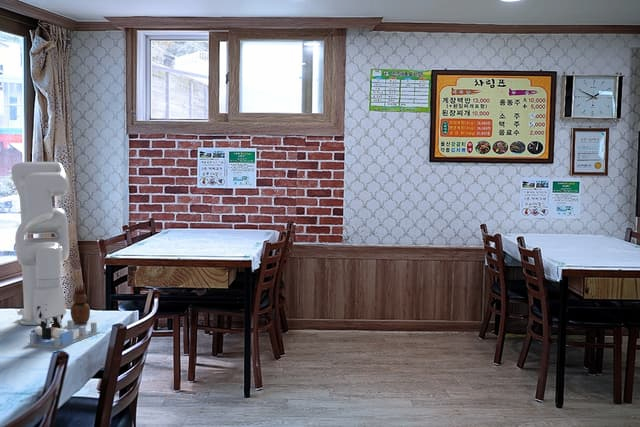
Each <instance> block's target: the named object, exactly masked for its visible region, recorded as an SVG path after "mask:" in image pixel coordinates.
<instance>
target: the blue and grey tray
mask: <svg viewBox="0 0 640 427" xmlns="http://www.w3.org/2000/svg"><path fill="white" fill-rule="evenodd" d="M35 329H36V328H34V329H31V330H30V333H29V342H28V346H34V347H35V346H36V347H45V348H52V349H62V348H65V347H68V346H70V345H72V344H75V343H78V342H80V341H83V340H85V339H87V338H91V337H92V336H95V335H98V334H99V333H100V332H99V331H98V326H97V322H96V321H92V322H90V330H86V329H87V328H86V326H83V325H81V326H79V327H78V329H74V322H73V320H72V319H68V320H67V328H66V329H67V330H68V331H66V332H63V333H61V336H58V335H56V336H54V339H53V338H51V340H45V339H42V337H41V336H36V333H35ZM60 329H63V324H62V323H61V324H60Z"/></svg>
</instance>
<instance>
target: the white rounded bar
mask: <svg viewBox="0 0 640 427" xmlns="http://www.w3.org/2000/svg"><path fill="white" fill-rule="evenodd" d="M49 328H51V338H53V339H54V336H56V335H58V336H61V333H63V332H66V331H68V330H67V328H62V329H59V328H55V327H51V326H49ZM34 329H35V333H36V336H41V337H42V328H41V327H40V325H37V326H36V327H35V328H34Z"/></svg>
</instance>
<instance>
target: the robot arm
mask: <svg viewBox="0 0 640 427" xmlns="http://www.w3.org/2000/svg"><path fill="white" fill-rule="evenodd" d="M10 170H11V171H10V172H11V179H12V182H13V185H14V187H15V189H16V191H17V194H18V197H19V206H20V220H21V221H20V224H19V225H18V227H17V229H16V233H15V253H16V259H17V262H18V264H19V265H21V273H22V275H21V276H22V278H21V279H22V290H23V291H22V292H23V294H22V295H23V308H20V309H19V311H17V313H16V314H17V315H19V316H22V317H21V318H20V320H19V324H20V325H24V326H40V327H41V328H42V339H45V340H51V328H49V327H55V328H59V329H60V324H62V320H63V318H64V316H65V315H66V314H67V310H66V301H65V300H66V299H65V292H64V287H63V285H62V281H63V278H62V267H61V265H62V263H61V262H64V261H66V260H67V259H68V258H69V257H70V238H69V223H68V222H69V221H68V217H67V216H68V215H67V213H66V211H65V210H64V209H63V208H61V207H53V199H52V198H53V197H62V196H66V195H67V194H68V192H69V183H70V182H69V179H68V176H67V173H66V171H65V168H64V166H63V164H62V163H61V162H57V161H21V162H17V163H15V164H14V165H12V167H11V169H10ZM26 234H27V235H41V234H43V235H44V234H45V235H46V234H54V235H55V236H46V237H45V236H43V237H42V236H40V237H30V238H25V236H26ZM50 324H51V326H50Z"/></svg>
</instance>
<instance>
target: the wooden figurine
mask: <svg viewBox="0 0 640 427" xmlns="http://www.w3.org/2000/svg"><path fill="white" fill-rule="evenodd" d="M86 294H87V293H86V283H83V285H82V284H79V287H77V288H76V289H74V294H73V297H72V301H73V304H72V305H71V307H70V316H71V317H70V318H71V320H73V324H77V325H84V324H86V323H88V322H89V319H90V317H91V308H90V305H89V304H88V303H87V295H86Z"/></svg>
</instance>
